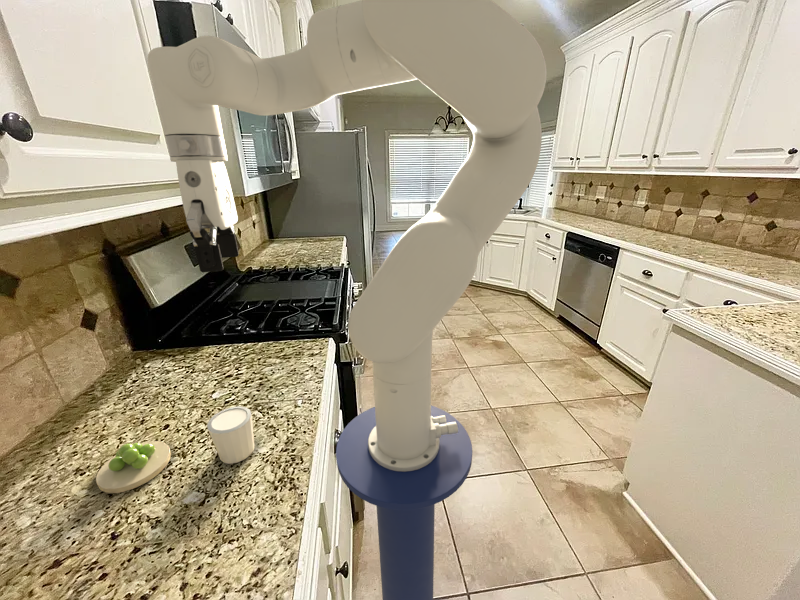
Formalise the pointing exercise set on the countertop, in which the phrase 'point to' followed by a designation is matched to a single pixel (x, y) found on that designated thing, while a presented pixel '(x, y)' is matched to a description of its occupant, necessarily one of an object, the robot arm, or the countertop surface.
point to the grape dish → (133, 474)
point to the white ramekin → (232, 434)
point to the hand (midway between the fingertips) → (221, 263)
